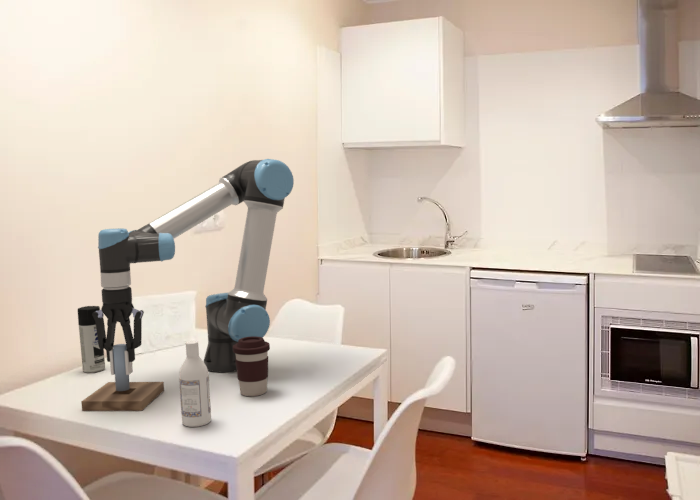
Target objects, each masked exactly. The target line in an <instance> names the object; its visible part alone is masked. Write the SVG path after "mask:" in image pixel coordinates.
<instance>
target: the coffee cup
mask: <svg viewBox="0 0 700 500" xmlns="http://www.w3.org/2000/svg"><path fill="white" fill-rule="evenodd" d="M270 348H271V346H270V343H269V341H265V339H264V337H263V338H262V337H258V336H251V337H244V338H241V339H239V340H238V343H236V344H235V345H233V352H234V353H235V354H236V359H235V361H236V369H237V371H236V374H237V376H236V378H237V380H238V384H239V385H238V386H239V392H240V394H241V395H242V396H244V397H257V396H261V395H264V394H266V392H267V390H268V377H269V356H268V352H269V351H270Z"/></svg>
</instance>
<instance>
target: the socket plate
mask: <svg viewBox="0 0 700 500" xmlns="http://www.w3.org/2000/svg"><path fill="white" fill-rule="evenodd" d="M129 382H130V389H129V390H126V391H116V386H115V381H107V383H105V384H104V385H102V386H101V387H99V388H98V389H97V390H96V391H94V392H93V393H91V394H90V395H88V396H87V397H86V398H84V399H83V400H81V403H80V404H81V411H82V412H83V411H84V412H85V411H86V412H87V411H89V412H90V411H91V412H92V411H93V412H99V411H100V412H103V411H104V412H107V411H109V412H113V411H115V412H117V411H118V412H123V411H124V412H127V411H129V412H132V411H133V412H134V411H135V412H137V411H143V410H144V409H145V408H147V407H148V406H149V405H150V404H151V403H152V402H153V401H154V400H155V399H157V398H158V397H159V396H160V394H162V393H163V392H164V391H165V383H164V381H129Z"/></svg>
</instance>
